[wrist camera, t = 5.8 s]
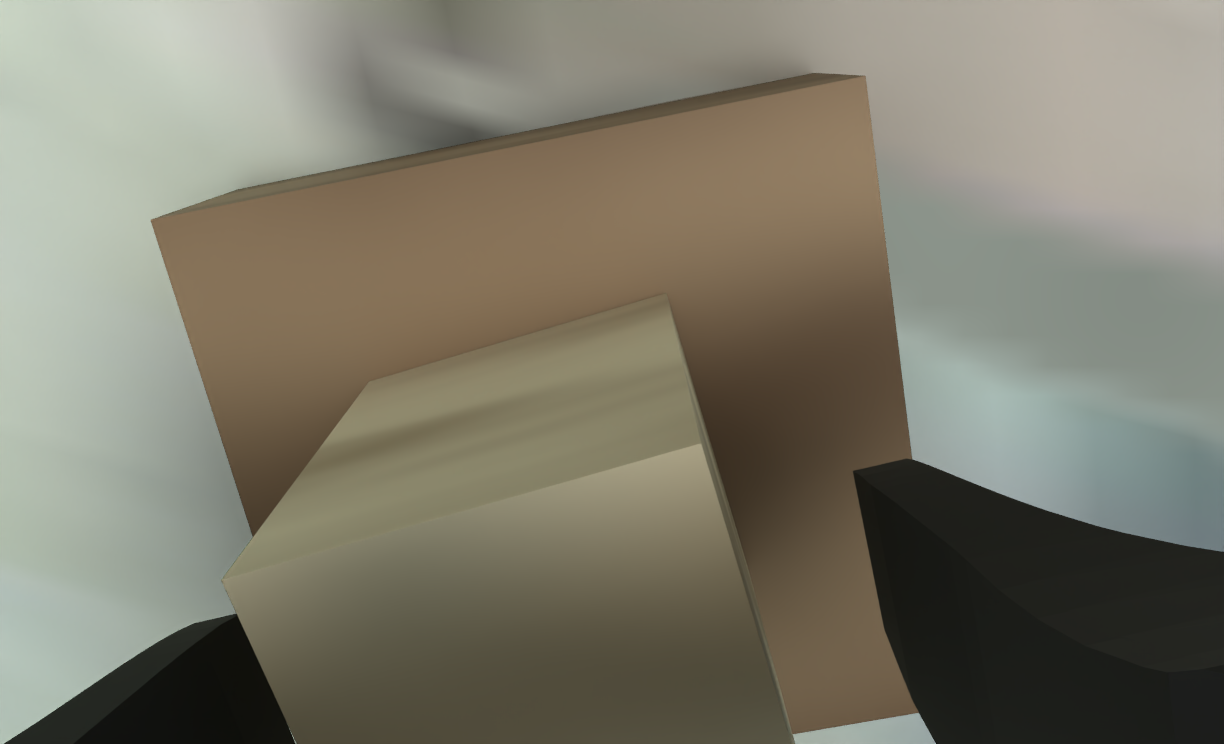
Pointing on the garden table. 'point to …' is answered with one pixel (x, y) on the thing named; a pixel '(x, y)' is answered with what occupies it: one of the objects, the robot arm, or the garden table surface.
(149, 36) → the garden table surface
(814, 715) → the walnut box
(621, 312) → the brass block
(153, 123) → the garden table surface
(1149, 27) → the garden table surface
